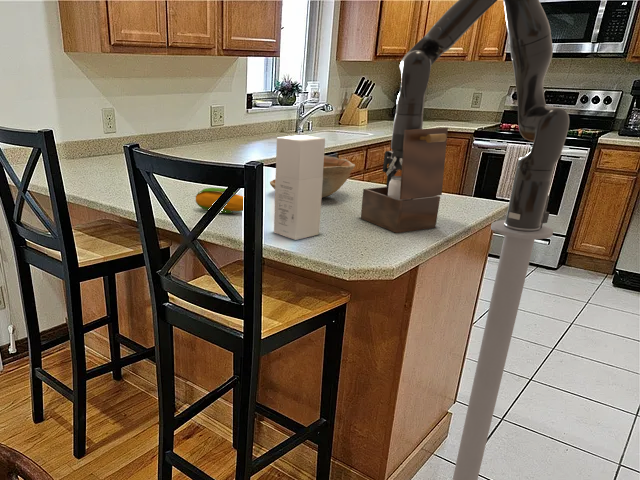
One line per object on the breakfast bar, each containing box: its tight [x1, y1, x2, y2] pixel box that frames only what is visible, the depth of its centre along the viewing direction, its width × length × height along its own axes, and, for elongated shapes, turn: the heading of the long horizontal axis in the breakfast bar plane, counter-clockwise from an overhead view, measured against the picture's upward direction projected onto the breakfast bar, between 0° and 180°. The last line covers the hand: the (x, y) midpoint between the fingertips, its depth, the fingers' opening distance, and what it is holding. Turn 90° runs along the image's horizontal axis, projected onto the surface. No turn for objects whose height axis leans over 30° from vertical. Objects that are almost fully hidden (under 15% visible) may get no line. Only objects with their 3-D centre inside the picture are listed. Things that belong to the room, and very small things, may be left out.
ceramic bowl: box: [269, 155, 356, 199], centre depth 181 cm, size 30×27×15 cm
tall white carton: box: [273, 134, 326, 241], centre depth 137 cm, size 9×9×25 cm
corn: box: [194, 187, 244, 214], centre depth 161 cm, size 7×8×20 cm
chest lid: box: [400, 127, 449, 199], centre depth 136 cm, size 18×14×5 cm
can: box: [388, 175, 408, 200], centre depth 149 cm, size 6×6×12 cm
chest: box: [360, 186, 441, 234], centre depth 150 cm, size 17×14×9 cm
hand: (399, 191), depth 148 cm, fingers open, 8 cm apart
